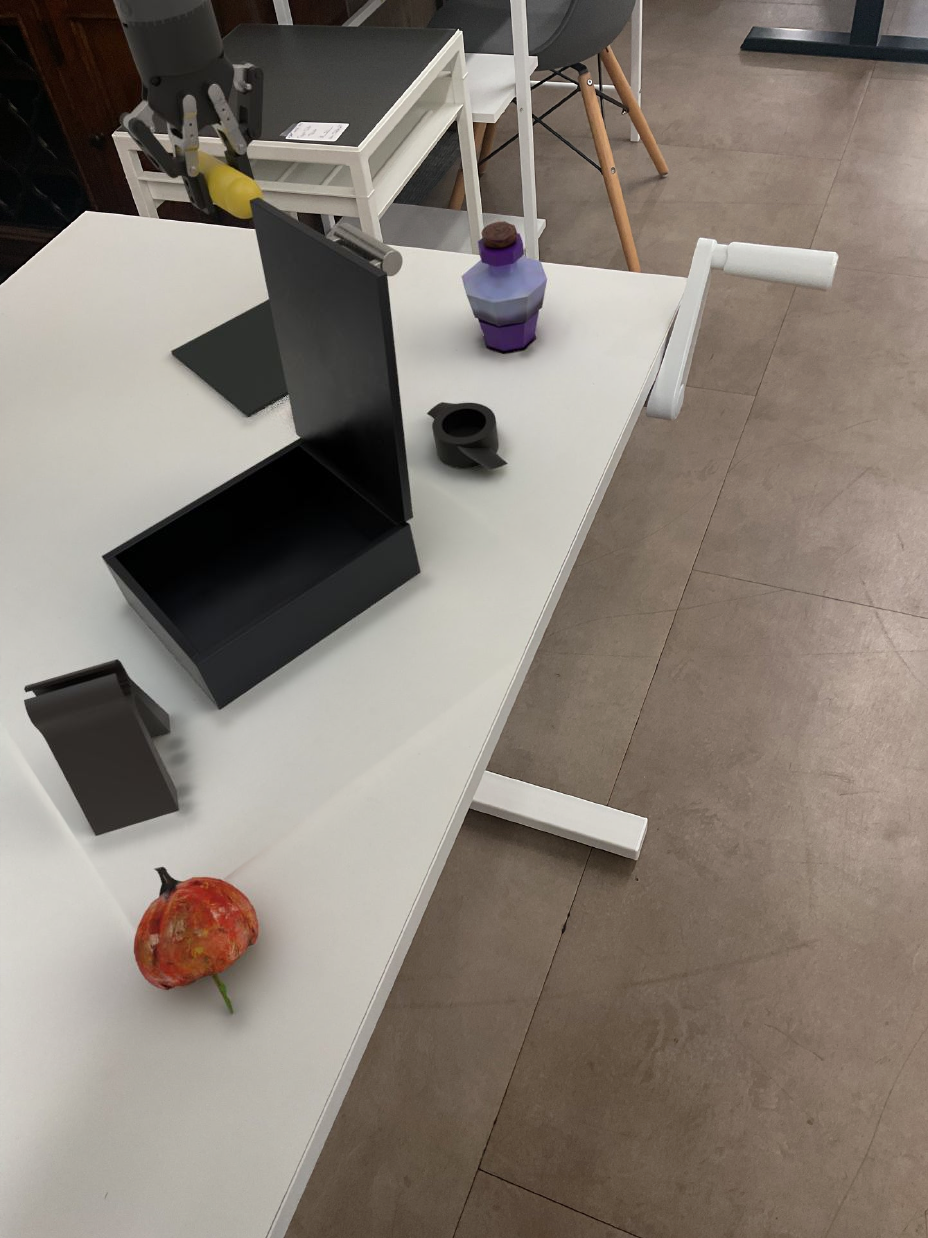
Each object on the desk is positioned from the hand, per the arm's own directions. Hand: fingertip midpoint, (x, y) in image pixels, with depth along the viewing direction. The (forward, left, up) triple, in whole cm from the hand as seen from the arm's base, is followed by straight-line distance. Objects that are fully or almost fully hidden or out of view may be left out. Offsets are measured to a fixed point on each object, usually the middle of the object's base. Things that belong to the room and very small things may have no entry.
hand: (225, 200), depth 95 cm
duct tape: (+4, -28, -17) cm, 33 cm away
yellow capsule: (0, 0, 0) cm, 0 cm away
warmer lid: (-9, -30, 0) cm, 31 cm away
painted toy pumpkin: (-39, -54, -17) cm, 69 cm away
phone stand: (-36, -38, -17) cm, 55 cm away
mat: (0, 0, -17) cm, 17 cm away
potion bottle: (+18, -18, -17) cm, 31 cm away
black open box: (-19, -30, -17) cm, 39 cm away
